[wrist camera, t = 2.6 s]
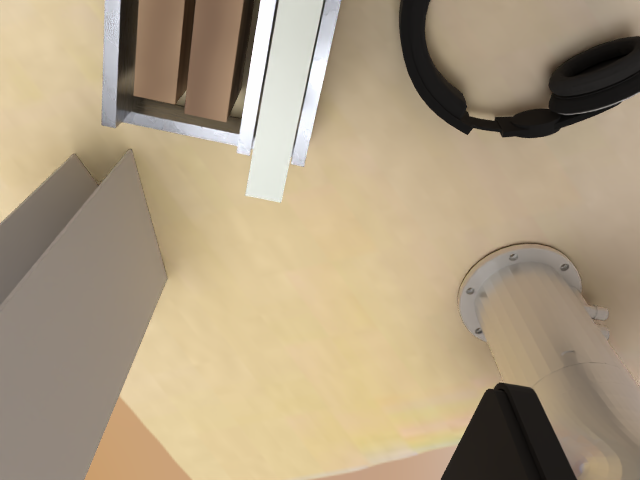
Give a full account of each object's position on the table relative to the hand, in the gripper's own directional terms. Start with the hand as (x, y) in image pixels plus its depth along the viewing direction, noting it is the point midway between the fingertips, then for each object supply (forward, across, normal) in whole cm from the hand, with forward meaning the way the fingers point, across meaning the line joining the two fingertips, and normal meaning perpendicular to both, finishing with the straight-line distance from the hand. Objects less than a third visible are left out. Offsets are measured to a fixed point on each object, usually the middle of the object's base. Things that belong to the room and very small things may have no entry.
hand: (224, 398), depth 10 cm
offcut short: (+40, +9, 0) cm, 41 cm away
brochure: (+40, +13, +21) cm, 47 cm away
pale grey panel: (+40, 0, 0) cm, 40 cm away
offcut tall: (+40, +5, 0) cm, 41 cm away
